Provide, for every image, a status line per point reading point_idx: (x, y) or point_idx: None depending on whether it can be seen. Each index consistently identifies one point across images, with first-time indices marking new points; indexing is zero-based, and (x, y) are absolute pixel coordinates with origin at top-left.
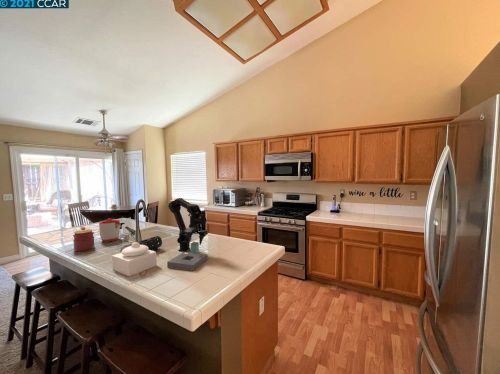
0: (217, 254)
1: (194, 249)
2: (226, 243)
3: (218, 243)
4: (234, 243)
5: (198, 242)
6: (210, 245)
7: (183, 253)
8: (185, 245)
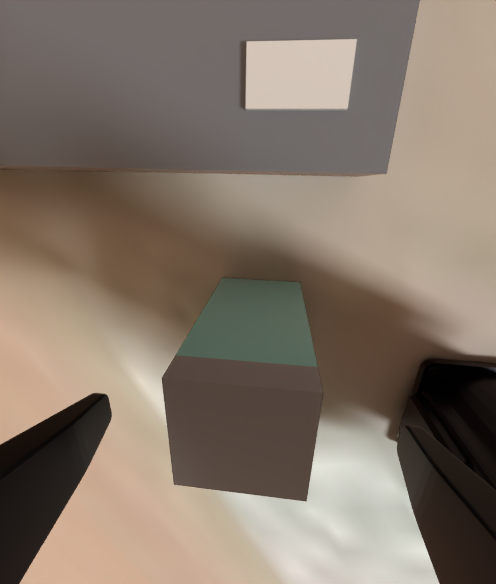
0: (2, 342)
1: (228, 311)
2: (116, 567)
3: (180, 567)
4: (58, 567)
5: (174, 478)
6: (223, 531)
7: (353, 39)
8: (488, 446)
